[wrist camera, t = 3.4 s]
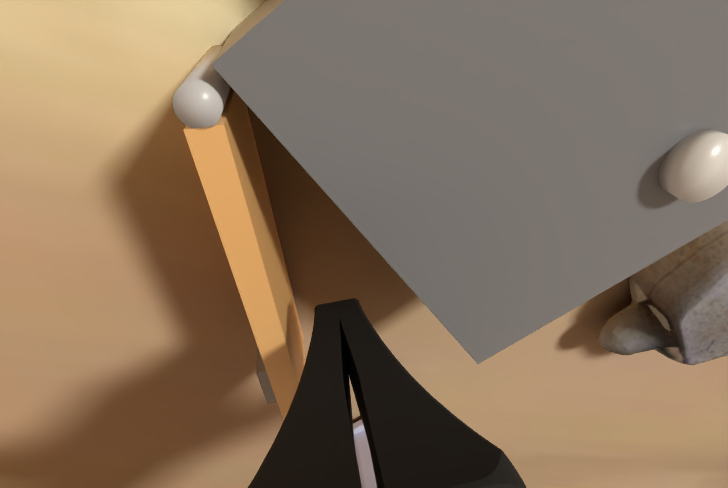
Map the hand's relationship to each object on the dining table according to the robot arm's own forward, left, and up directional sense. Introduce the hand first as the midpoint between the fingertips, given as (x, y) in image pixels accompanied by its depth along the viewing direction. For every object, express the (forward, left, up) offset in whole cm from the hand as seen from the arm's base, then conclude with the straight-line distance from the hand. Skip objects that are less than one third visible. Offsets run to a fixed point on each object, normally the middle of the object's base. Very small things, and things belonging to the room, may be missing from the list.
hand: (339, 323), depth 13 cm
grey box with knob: (+8, +2, -4) cm, 9 cm away
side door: (-1, +3, -3) cm, 5 cm away
